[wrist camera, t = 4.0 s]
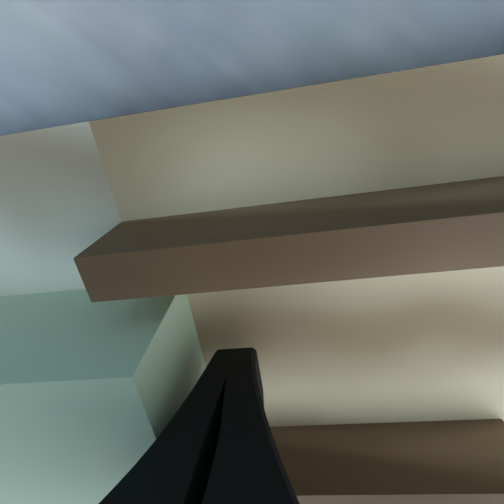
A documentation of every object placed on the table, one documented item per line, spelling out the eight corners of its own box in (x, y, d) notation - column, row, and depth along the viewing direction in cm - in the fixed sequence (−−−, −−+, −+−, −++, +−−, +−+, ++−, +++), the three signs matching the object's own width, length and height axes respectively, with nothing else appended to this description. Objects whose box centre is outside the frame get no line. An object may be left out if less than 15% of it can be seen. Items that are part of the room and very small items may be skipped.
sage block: (217, 411, 13) (193, 534, 9) (56, 416, 13) (-25, 531, 10) (183, 280, 10) (132, 377, 7) (-12, 297, 11) (-153, 391, 7)
